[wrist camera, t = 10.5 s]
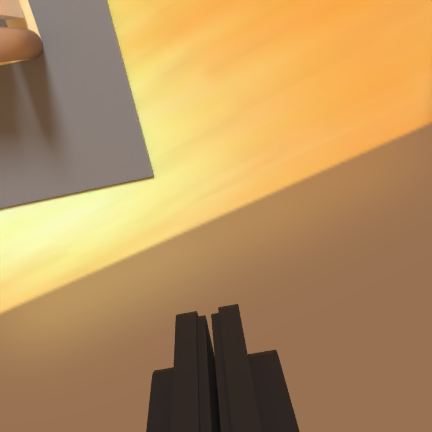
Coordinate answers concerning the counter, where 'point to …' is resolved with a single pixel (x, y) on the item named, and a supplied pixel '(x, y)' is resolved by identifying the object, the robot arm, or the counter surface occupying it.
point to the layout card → (67, 107)
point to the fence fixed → (17, 36)
